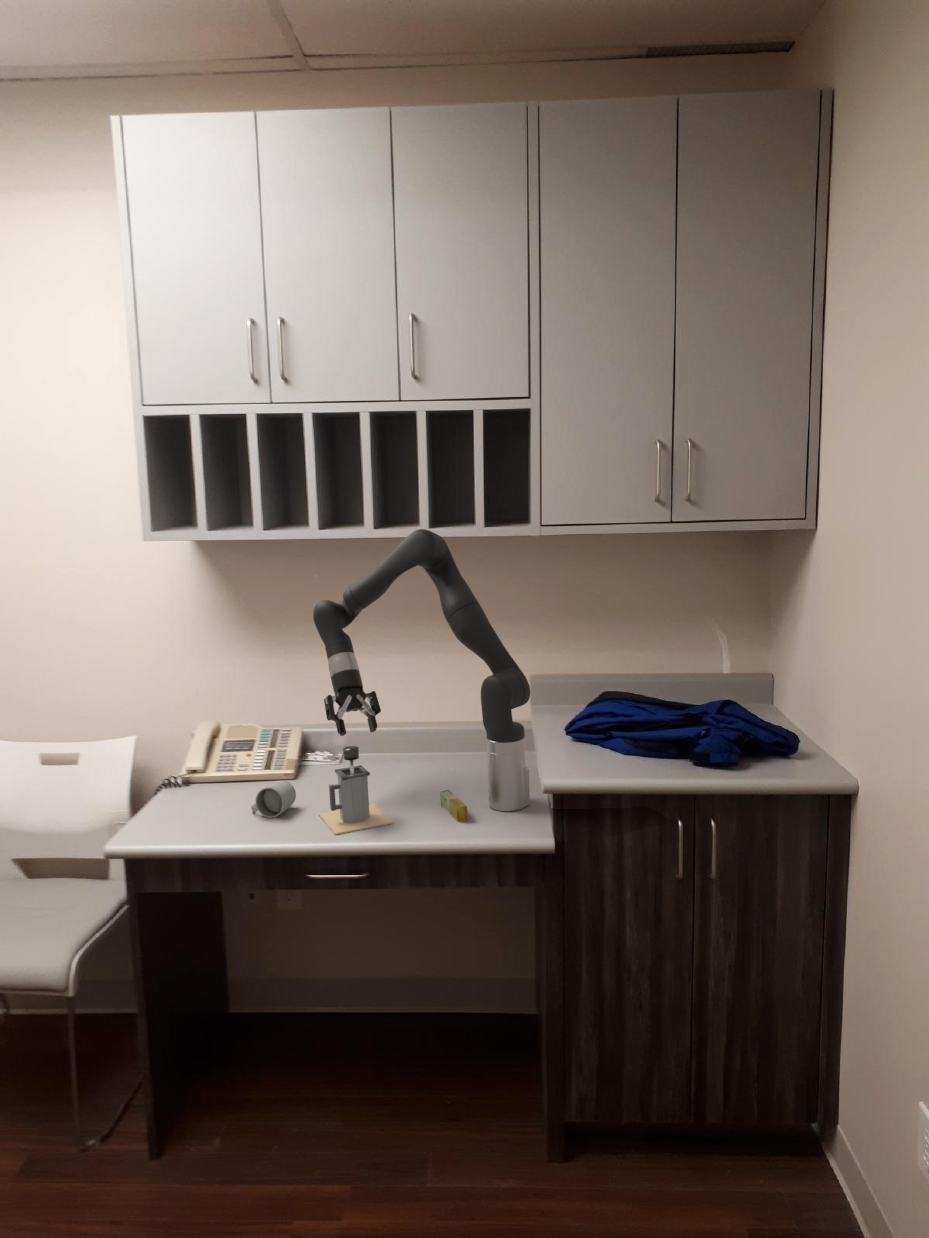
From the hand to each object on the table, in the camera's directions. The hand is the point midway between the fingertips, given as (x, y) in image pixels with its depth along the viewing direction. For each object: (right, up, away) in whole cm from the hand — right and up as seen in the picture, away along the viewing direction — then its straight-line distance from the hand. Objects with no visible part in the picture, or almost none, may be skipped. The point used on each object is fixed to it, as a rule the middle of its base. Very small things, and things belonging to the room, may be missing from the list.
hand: (358, 733), depth 227 cm
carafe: (0, -19, -11) cm, 22 cm away
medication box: (+24, -19, -9) cm, 32 cm away
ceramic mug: (-21, -19, -4) cm, 29 cm away
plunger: (0, -15, -12) cm, 19 cm away
